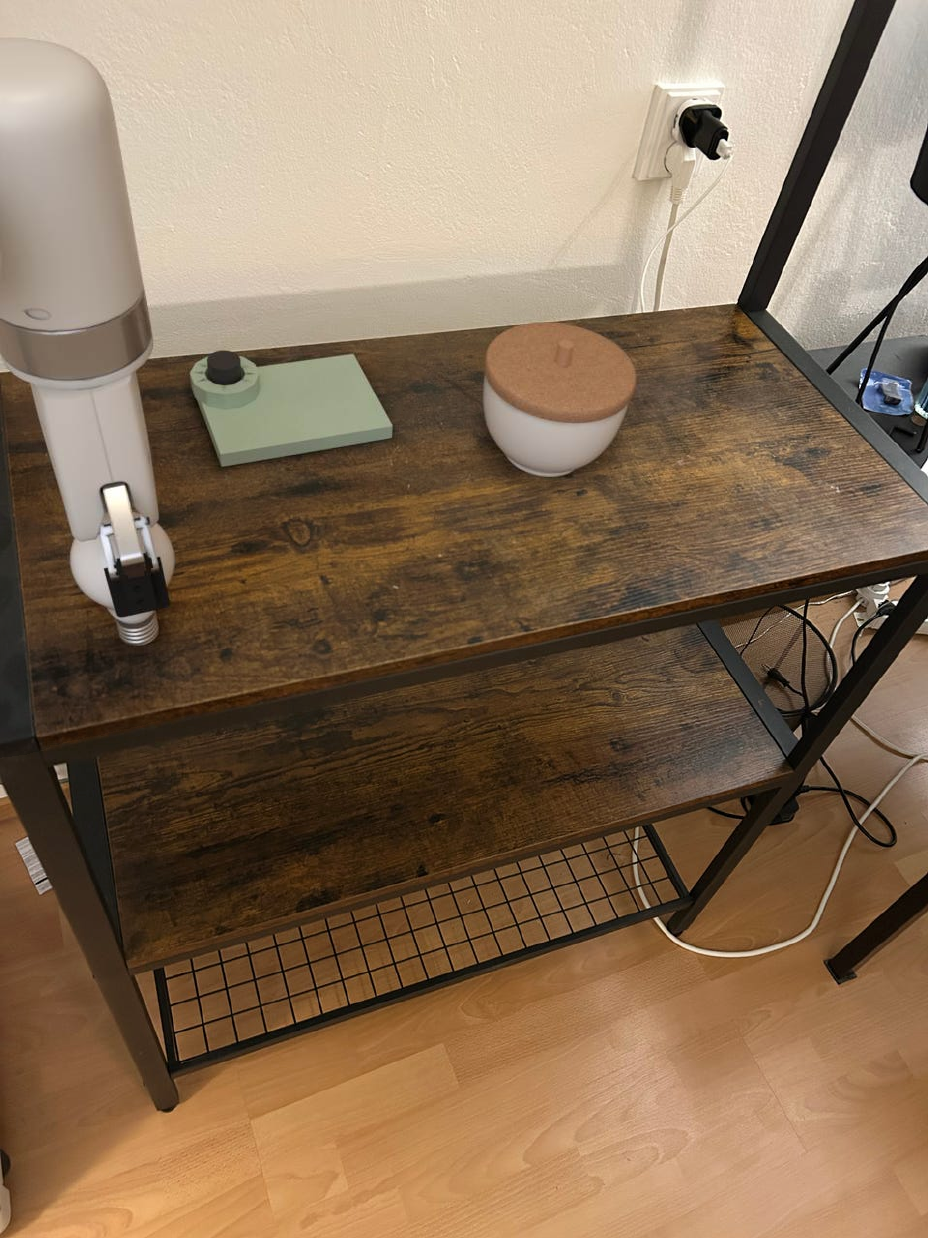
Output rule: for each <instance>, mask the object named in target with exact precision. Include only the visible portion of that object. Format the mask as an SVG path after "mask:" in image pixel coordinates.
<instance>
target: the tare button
mask: <svg viewBox="0 0 928 1238" xmlns="http://www.w3.org/2000/svg"><path fill="white" fill-rule="evenodd" d="M239 356H240V355H238V353H236V352H234V351H232V350H225V349H221V350H217V351H214V352H211V353H210V354H208V356H207V357H208V358H207V367H208V376H209V380H210V381H211V382H212V383H214V384H219V385H231V384H235V383H237V382H239V381H240V380H241V378H242V375H241V361H240V357H239Z"/></svg>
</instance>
